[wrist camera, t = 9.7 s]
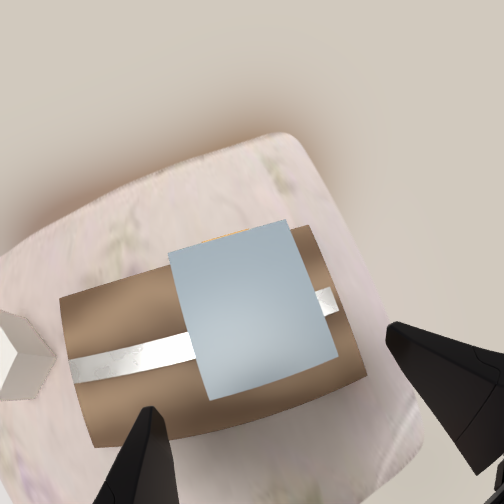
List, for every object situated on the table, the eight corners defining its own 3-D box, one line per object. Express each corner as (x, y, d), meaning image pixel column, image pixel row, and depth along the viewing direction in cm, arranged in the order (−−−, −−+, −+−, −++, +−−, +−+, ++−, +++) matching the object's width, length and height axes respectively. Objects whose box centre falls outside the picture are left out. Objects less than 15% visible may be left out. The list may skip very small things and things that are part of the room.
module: (294, 358, 20) (338, 356, 11) (225, 380, 20) (209, 400, 10) (264, 274, 23) (280, 208, 13) (198, 294, 22) (165, 241, 12)
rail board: (362, 375, 21) (375, 376, 18) (99, 445, 17) (86, 451, 15) (306, 229, 26) (312, 216, 23) (64, 300, 22) (50, 294, 20)
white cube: (26, 318, 21) (-12, 305, 16) (58, 357, 20) (17, 352, 15) (6, 359, 19) (-32, 352, 14) (35, 399, 18) (-4, 401, 13)
